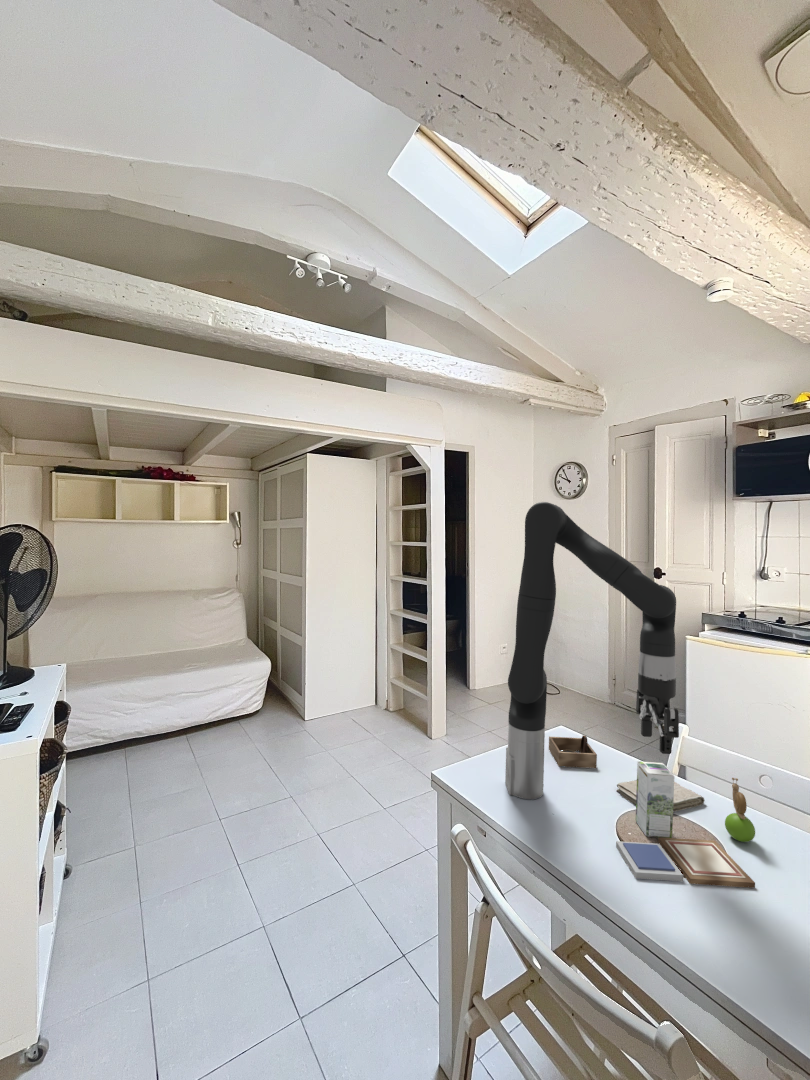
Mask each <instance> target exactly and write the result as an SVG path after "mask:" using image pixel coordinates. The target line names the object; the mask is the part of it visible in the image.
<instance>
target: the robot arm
mask: <svg viewBox="0 0 810 1080" xmlns="http://www.w3.org/2000/svg"><path fill="white" fill-rule="evenodd" d="M524 518H525V519H524V555H523V563H522V567H521V568H522V569H521V576H520V583H519V590H518V597H517V605H516V616H515V617H516V618H515V621H516V622H515V644H514V645H515V646H514V653H513V657H512V661H511V665H510V670H509V674H508V679H507V687H508V689H509V692H510V701H509V702H510V703H509V709H508V728H507V730H508V731H507V732H508V735H507V736H508V737H507V747H506V748H505V782H504V783H505V786H506V789H507V792H508V795H509V796H514V797H517V798H520V799H524V800H536V799H540V798H541V797H542V796H543V794H544V787H545V786H544V781H545V780H544V774H545V773H544V771H545V770H544V768H545V737H546V736H545V735H546V734H545V731H546V715H547V714H546V713H547V694H548V693H547V690H548V679H547V673H546V671H545V669H544V667H545V665H544V663H545V652H546V651H545V650H546V646H547V642H548V639H549V635H550V633H551V632H550V631H551V627H552V624H553V619H554V615H555V614H554V613H555V607H556V606H555V605H556V598H557V583H556V582H557V581H556V576H555V575H556V573H555V567H554V566H555V565H554V554H555V548H556V544H557V545H559V546H561V547H562V548H564V549H566V550H568V551H569V552H570V553H571V554H572V555H574V556H575V557H576V558H577V559H579V561H581V562H582V564H584V565H585V566H586V567H587V568H588V569H589V570H591V572H592V573H594V574H595V575H596V576H598V577H599V578H600V579H601V580H602V581H604V582H605V583H607V584H608V585H609V586H611V587H612V588H614V589H615V590H617V591H618V592H620V593H621V594H622V595H623V596H624V597H625V598H626V599H627V600H629V601H630V603H632V604H633V605H634V606H635V607H636V608H637V609H639V610H640V611H641V612H642V613H641V614H642V627H641V630H640V635H639V636H640V637H639V656H638V662H637V663H638V667H637V669H638V670H637V673H638V674H637V678H638V679H637V690H636V702H635V703H636V705H635V708H636V709H635V711H636V714H638V715H639V719H640V720H641V721H640V726H641V727H640V734H641V736H642V737H645V738H651V737H652V736H653V722H654V724H655V726H656V727H657V728H658V732H659V752H660V753H661V754H664V755H670V754H672V751H673V750H672V749H673V748H672V746H673V745H672V743H673V742H672V741H673V738H674V739H675V738H676V739H678V738H679V737H680V730H679V729H680V727H679V725H680V724H679V716H680V715H679V710H678V709H677V708H671V706H670V705H671V704H670V700H671V699H673V698H675V697H676V695H677V690H676V689H677V663H676V636H675V635H676V634H675V624H676V623H675V622H676V613H677V611H676V610H677V597H676V595H675V594H676V593H674V591H673V590H672V589H671V588H669V587H668V586H665V585H662V584H658V583H657V582H655V581H654V580H652V579H651V578H649V577H648V576H646V575H645V574H644V573H642V571H641V569H639V568H638V566H636V565H635V564H633V563H631V562H630V561H629V560H627V559H626V558H625V557H623V556H622V555H620V554H618V553H617V552H616V551H614V550H613V549H612V548H609V547H608V546H607V545H605V544H603V543H602V542H601V541H599V540H598V539H596V538H594V537H592V536H591V535H590V534H589V533H587V532H586V531H585V530H584V529H583V528H581V527H580V526H578V524H577V523H575V522H574V520H573V519H572V518H571V517H570V516H568V514H567V513H565V511H564V510H563V509H562V508H561V506H558V505H557V504H554V503H551V502H549V501H540V502H536V503H534V504H533V505H532V506H530V508H529V509H528V511H527V513H526V515H525V517H524ZM652 720H653V721H652Z"/></svg>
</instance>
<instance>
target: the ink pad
mask: <svg viewBox="0 0 810 1080" xmlns="http://www.w3.org/2000/svg"><path fill="white" fill-rule="evenodd" d="M615 847H616V848H617V851H618V852H619V854H620V855H621V858H623V860H624V863H625V864H626V865H627V867H628V869H629V871H630V872H631V873H632V875H633V876H634V879H640V880H641V879H642V880H654V881H656V880H657V881H668V882H669V881H671V882H684V875H683V874H682V873H681V871H680V870H679V869H678V867H677V866H676V865H675V863H674V862H673V861H672V859H671V858H670V857H669V856H668V854H667V853H666V852H665V850H664V849H663V848H662V846H661V845H660V844H659V843H651V842H638V841H637V842H635V841H621V840H620V841H618V840H616V841H615Z"/></svg>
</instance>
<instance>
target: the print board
mask: <svg viewBox="0 0 810 1080" xmlns="http://www.w3.org/2000/svg"><path fill="white" fill-rule="evenodd" d="M657 842H658V844H659V843H660V845H661V847H663V849H664V851H665V852H666V853H667V854H668V856H669V857H670V858H671V860H673V861H674V862H675V863H676V864H677V866H678V867H679V868H680V869H681V871H682V872H683V878H685V879H686V881H687V882H688V883H689V884H690V885H703V886H704V885H705V886H719V887H721V886H722V887H731V888H733V887H734V888H735V887H736V888H747V889H748V888H750V889H756V882H755V881H754V880H753V879H752V878H751V877H750V875H748V873H746V872H745V870H743V868H742V867H741V866H740V865H739V864H738V863H737V862H736V861H735V860H734V859H733V858H732V857H731V856H730V855H729V853H727V852H726V851H725V850H724V849H723V847H722V846H721V845H720V844H719V843H718V842H717V841H716V840H712V839H711V840H710V839H708V840H707V839H695V838H694V839H693V838H690V839H689V838H675V837H672V838H661V837H657ZM675 863H674V864H675ZM678 867H677V868H678ZM681 871H680V872H681Z"/></svg>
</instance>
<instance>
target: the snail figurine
mask: <svg viewBox="0 0 810 1080" xmlns="http://www.w3.org/2000/svg"><path fill="white" fill-rule="evenodd" d="M731 780H732V781H736V782H735V783H734V782H732V784H731V788H732V801H733V808H734V811H735V812H733V813H732V812H731V813H730V814H727V816H726V817H725V819H724V827H725V829H726V831H727V833H728V834H729V836H731V837H732V838H733V839H735V840H736V841H738V842H741V843H742V842H743V843H748V842H751V841H753V839H754V838H755V836H756V827H755V824H753V822H752V821H751V819H749V818H748V817H747V816H746V815H745V813H746V812H747V806H748V805H747V800H746V797H745V795H744V794H743V793H742V792H740V791H739V790H740V786H739V784H738V781H739V779H738V777H736V778H735V777H731Z"/></svg>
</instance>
